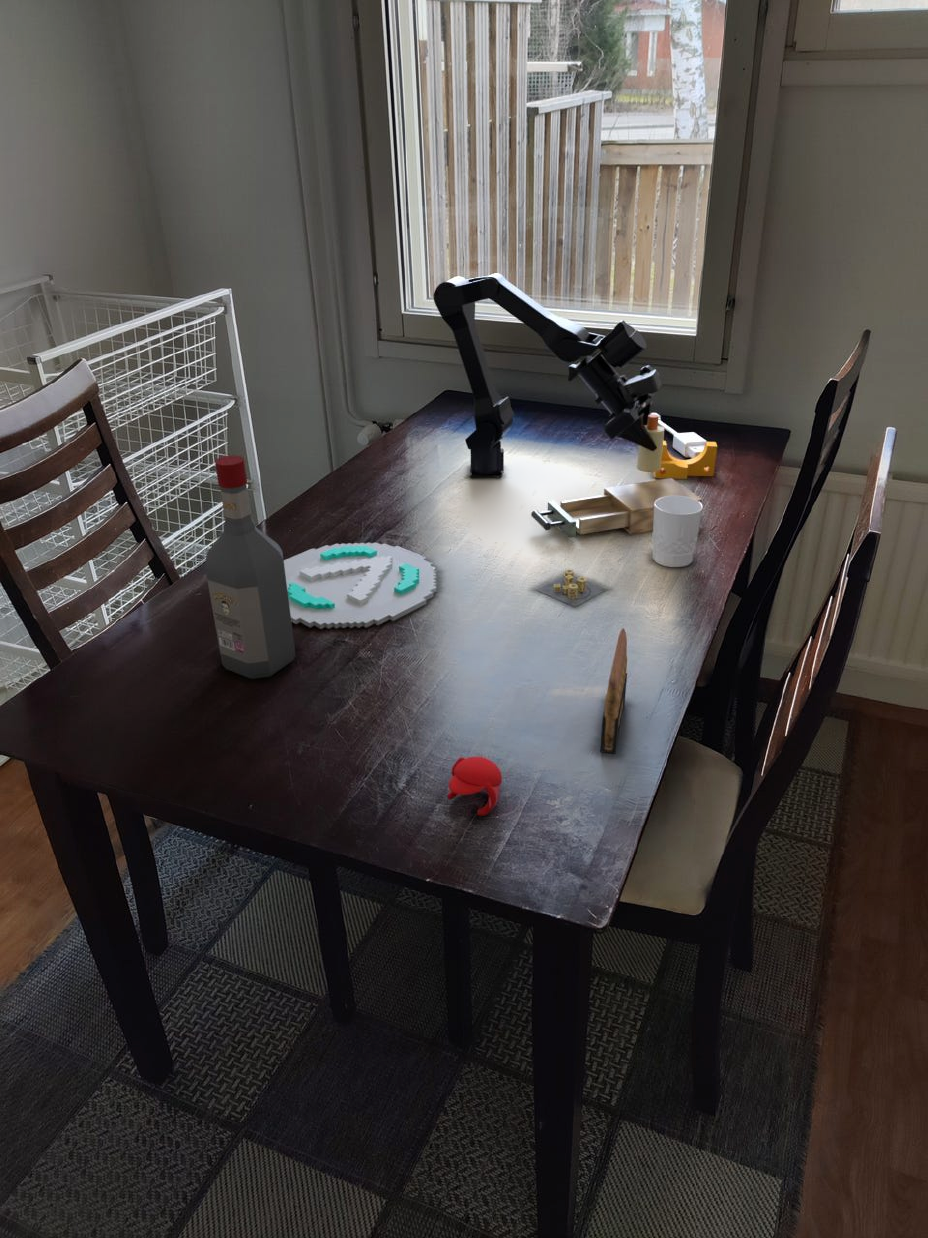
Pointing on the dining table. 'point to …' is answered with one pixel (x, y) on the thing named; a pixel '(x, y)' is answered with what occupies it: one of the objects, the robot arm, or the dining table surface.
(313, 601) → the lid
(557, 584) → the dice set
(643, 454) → the glue bottle
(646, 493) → the cabinet
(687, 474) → the pipe clamp
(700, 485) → the dining table surface
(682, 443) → the charging cable
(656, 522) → the white cup
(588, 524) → the drawer
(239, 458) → the liquor
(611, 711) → the ammunition clip
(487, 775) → the cap
